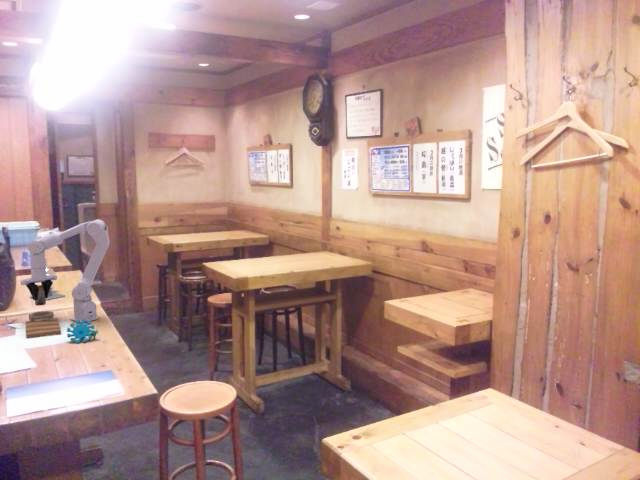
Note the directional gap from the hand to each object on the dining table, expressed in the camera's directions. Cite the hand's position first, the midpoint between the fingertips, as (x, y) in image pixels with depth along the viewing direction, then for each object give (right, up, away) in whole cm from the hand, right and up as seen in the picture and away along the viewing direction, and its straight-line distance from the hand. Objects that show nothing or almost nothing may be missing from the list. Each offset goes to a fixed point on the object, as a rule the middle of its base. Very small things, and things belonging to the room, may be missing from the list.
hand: (40, 298), depth 230 cm
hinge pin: (0, -2, 0) cm, 2 cm away
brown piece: (+5, -11, -7) cm, 14 cm away
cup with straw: (-23, -3, +52) cm, 57 cm away
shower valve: (-20, -4, +44) cm, 48 cm away
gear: (+29, -14, -24) cm, 40 cm away
